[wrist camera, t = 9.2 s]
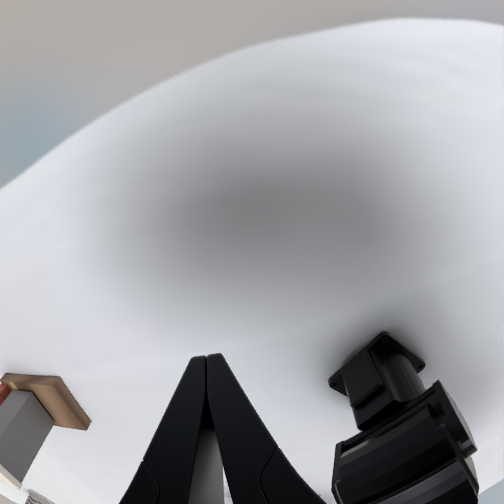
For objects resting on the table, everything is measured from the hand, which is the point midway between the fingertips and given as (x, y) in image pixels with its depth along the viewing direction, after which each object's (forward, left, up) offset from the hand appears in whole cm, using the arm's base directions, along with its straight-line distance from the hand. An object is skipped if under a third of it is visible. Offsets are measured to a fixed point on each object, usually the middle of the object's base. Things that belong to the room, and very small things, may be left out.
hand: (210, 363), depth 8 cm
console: (+7, +30, -12) cm, 33 cm away
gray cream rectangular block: (+8, +31, -10) cm, 34 cm away
